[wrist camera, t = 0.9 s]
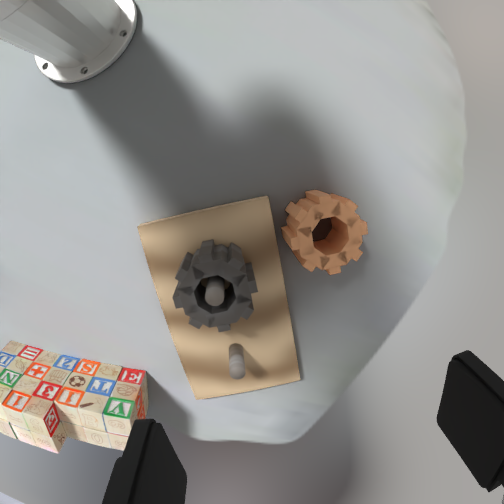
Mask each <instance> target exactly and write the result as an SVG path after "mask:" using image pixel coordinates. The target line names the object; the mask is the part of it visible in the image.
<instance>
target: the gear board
mask: <svg viewBox="0 0 504 504" xmlns="http://www.w3.org/2000/svg"><path fill="white" fill-rule="evenodd" d="M138 231H139V235H140V238H141V242H142V245H143V249H144V252H145V256H146V259H147V263H148V266H149V269H150V273H151V276H152V279H153V282H154V285H155V289H156V292H157V295H158V298H159V301H160V304H161V307H162V310H163V313H164V316H165V319H166V322H167V325H168V327H169V330H170V333H171V336H172V339H173V341H174V344H175V347H176V350H177V352H178V355H179V358H180V360H181V363H182V365H183V368H184V371H185V373H186V376H187V378H188V381H189V383H190V386H191V388H192V390H193V393H194V395H195V398H196V400H198V399H205V398H212V397H218V396H224V395H230V394H236V393H242V392H247V391H252V390H257V389H262V388H267V387H272V386H276V385H281V384H285V383H290V382H294V381H298V380H300V374H299V368H298V361H297V355H296V349H295V343H294V337H293V331H292V325H291V319H290V313H289V307H288V302H287V296H286V290H285V284H284V279H283V273H282V268H281V262H280V256H279V251H278V246H277V240H276V235H275V229H274V224H273V219H272V214H271V208H270V203H269V198H268V196H261V197H256V198H252V199H247V200H242V201H237V202H233V203H228V204H223V205H219V206H214V207H210V208H205V209H201V210H197V211H192V212H188V213H184V214H179V215H175V216H171V217H167V218H163V219H159V220H155V221H151V222H147V223H143V224H140V225H139V226H138Z"/></svg>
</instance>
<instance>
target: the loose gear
mask: <svg viewBox="0 0 504 504" xmlns="http://www.w3.org/2000/svg"><path fill="white" fill-rule="evenodd" d="M305 193H306V198H302V199H299V201H298V202H297V204H295V203H293V202H292V201H290V203H289V204H288V206H287V207H286V209H285V211H286V212H288V213H289V215H288V217H287V218H286V222H287V226H283V227H281V230H282V236H283V238H284V240H285V241H286V242H287V244H288V245H289V246H290V248H291V249H292V252H293V253H294V255H295V256H296V258H297V259H298V260H299V262H300V263H301V265H302V266H303V267H305V268H306V269H308V270H309V271H311V272H313V270H314V269H315V268H316V267H318V268H319V269H321V270H326V271H327V272H328V274H329V275H333V274H337V273H341V268H340V266H342V265H347V264H348V262H349V261H350V260H351V258H352V259H353V260H355V261H356V262H357V260H358V259H359V257H360V256H361V255H362V253H363V252H362V251H361V250H359V249H358V248H359V247H360V245H361V244H362V243H363V242H362V235H366V234H368V229H367V222H365V221H363V220H361V219H360V216H359V215H357V214H356V213H355V210H356V209H357V207H358V206H357V205H356V204H355V203H353V202H352V201H351V200H350V199H347V198H344V197H341V196H338V195H335V194H332V193H331V195H330V194H327V193H324V192H321V191H318V190H310V191H305ZM329 217H331V223H332V229H331V231H330V232H329V234H328V235H327V237H326V238H325V239H324V240H319V241H314V242H313V238H312V231H313V230H314V228H315V227H316V225H317V224H318V222H319V221H320V219H324V218H329Z"/></svg>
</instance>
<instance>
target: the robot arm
mask: <svg viewBox="0 0 504 504" xmlns="http://www.w3.org/2000/svg"><path fill="white" fill-rule="evenodd" d="M136 23H137V10H136V6H135V3H134V2H133V0H0V39H1V40H3V41H5V42H8V43H10V44H12V45H14V46H16V47H19V48H21V49H23V50H25V51H27V52H29V53H32V54H34V55H35V61H36V64H37V66H38V68H39V69H40V71H41V72H42V73H43V74H44V75H45V76H46V77H48V78H50V79H52V80H54V81H58V82H61V83H75V82H81V81H84V80H86V79H89V78H92V77H93V76H95V75H97V74H99V73H101V72H102V71H104V70H105V69H106V68H108V67H109V66H110V65H111V64H112V63H113V62H115V61H116V60H117V59H118V58H119V56H120V55H121V54H122V53H123V51H124V50H125V49H126V47H127V46H128V44H129V42H130V41H131V39H132V36H133V34H134V32H135V28H136ZM126 34H127V35H126ZM124 35H126V36H124ZM86 71H87V73H86ZM437 423H438V425H439V427H440V428H441V430H442V431H443V433H444V434H445V435H446V437H447V438H448V440H449V441H450V443H451V444H452V445H453V447H454V448H455V450H456V451H457V452H458V454H459V455H460V456H461V458H462V460H463V461H464V463H465V464H466V465H467V467H468V468H469V470H470V471H471V473H472V474H473V476H474V477H475V479H476V480H477V482H478V483H479V485H480V486H481V487H483V488H486V489H487V490H488V492H490V491H492V490H494V489H495V488H497V487H498V486H500V485H501V484H502V485H503V487H504V381H503V380H502V379H501V378H500V377H499V376H498V375H497V374H496V373H494V372H493V371H492V370H491V369H490V368H489V367H488V366H487V365H486V364H484V363H483V362H482V361H481V360H480V359H479V358H478V357H477V356H475V355H474V354H473V353H472V352H471V351H469V350H466V351H464V352H462V353H459V354H457V355H454V356H453V357H452V360H451V361H450V362H449V365H448V370H447V375H446V380H445V384H444V389H443V394H442V398H441V403H440V406H439V410H438V414H437ZM186 485H187V475H186V472H185V470H184V468H183V466H182V464H181V462H180V460H179V459H178V457H177V455H176V453H175V451H174V449H173V447H172V445H171V443H170V441H169V439H168V437H167V435H166V433H165V431H164V429H163V427H162V425H161V424H160V423H156V421H155V420H154V419H136V420H135V421H134V423H133V426H132V429H131V431H130V434H129V437H128V440H127V443H126V446H125V449H124V452H123V455H122V457H119V458H118V459H117V460H116V462H115V465H114V468H113V471H112V474H111V477H110V480H109V483H108V486H107V489H106V492H105V496H104V499H103V502H102V504H184V503H185V494H186ZM502 504H504V495H503V500H502Z"/></svg>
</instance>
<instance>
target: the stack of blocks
mask: <svg viewBox="0 0 504 504" xmlns="http://www.w3.org/2000/svg"><path fill="white" fill-rule="evenodd" d="M148 406H149V401H148V390H147V375H146V371H144V370H137V369H130V368H123V367H121V366H116V365H111V364H105V363H99V362H95V361H90V360H86V359H79V358H75V357H70V356H66V355H61V354H57V353H53V352H49V351H45V350H42V349H39V348H35V347H31V346H28V345H25V344H21V343H18V342H15V341H10V342H9V343H8V344H7V345H6V346H5V347H4V348H3V349H2V350H1V352H0V432H1V433H3V434H5V435H8V436H10V437H12V438H14V439H19V440H20V441H23V442H26V443H28V444H31V445H34V446H38V447H40V448H43V449H46V450H49V451H52V452H55V453H58V454H59V452H60V450H61V448H62V446H63V444H64V442H65V440H66V438H67V437H69V438H73V439H77V440H81V441H84V442H88V443H91V444H95V445H99V446H103V447H108V448H113V449H119V450H123V451H124V449H125V446H126V443H127V440H128V437H129V434H130V431H131V429H132V426H133V423H134V421H135V420H136V419H145V418H146V414H147V410H148Z"/></svg>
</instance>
